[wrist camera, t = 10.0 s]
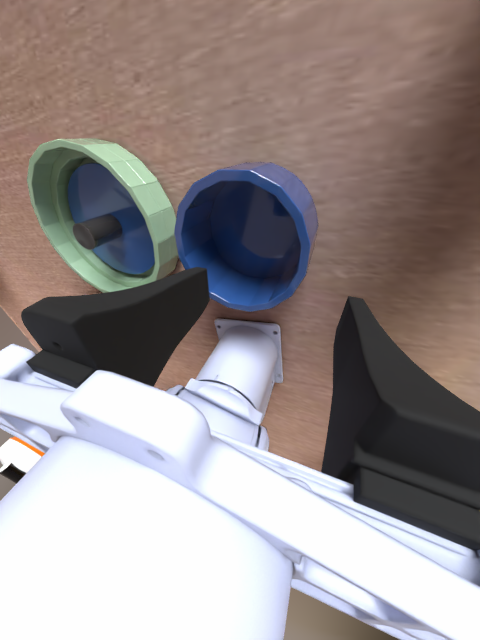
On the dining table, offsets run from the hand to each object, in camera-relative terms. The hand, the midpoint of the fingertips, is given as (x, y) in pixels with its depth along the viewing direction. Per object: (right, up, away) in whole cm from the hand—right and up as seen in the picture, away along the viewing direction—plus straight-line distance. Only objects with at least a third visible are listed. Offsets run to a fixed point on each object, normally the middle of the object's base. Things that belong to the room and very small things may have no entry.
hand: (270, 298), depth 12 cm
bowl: (-14, +9, +13) cm, 21 cm away
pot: (0, +7, +9) cm, 11 cm away
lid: (-14, +9, +13) cm, 21 cm away
